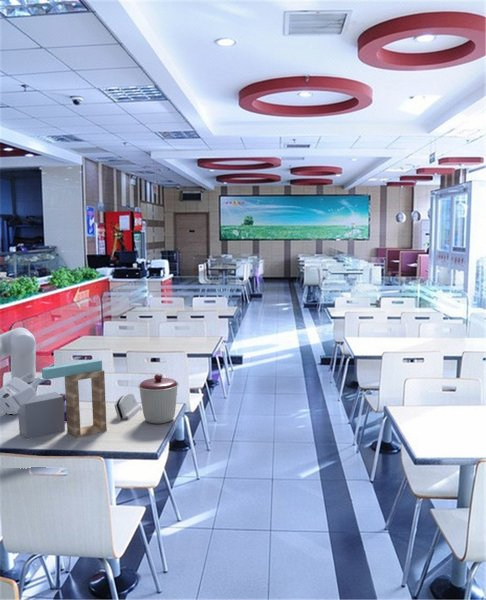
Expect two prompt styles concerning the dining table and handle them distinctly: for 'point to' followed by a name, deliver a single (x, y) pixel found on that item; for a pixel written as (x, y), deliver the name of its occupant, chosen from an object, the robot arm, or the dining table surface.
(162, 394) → the canister
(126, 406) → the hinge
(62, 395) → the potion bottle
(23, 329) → the robot arm
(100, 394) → the stand
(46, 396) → the low step
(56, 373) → the teal bar
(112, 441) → the dining table surface
